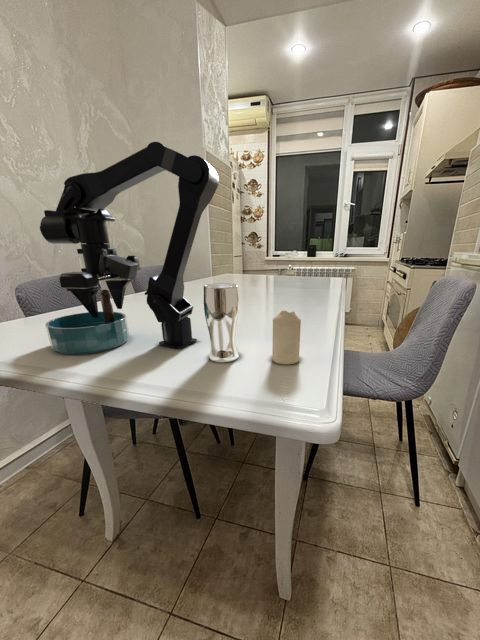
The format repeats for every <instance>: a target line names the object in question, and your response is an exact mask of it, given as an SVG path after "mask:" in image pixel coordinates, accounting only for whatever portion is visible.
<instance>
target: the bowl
mask: <svg viewBox="0 0 480 640" xmlns="http://www.w3.org/2000/svg"><path fill="white" fill-rule="evenodd" d="M113 312H114V318H115V321H114V322H111V323H107V324H105V319H104V314H103V310H101V311H99V310H98V318H93V317H92V316H91V314H90V313H89V312H88V311H87V312H79V313H73V314H67V315H63V316H60V317H55V318H52V319H50V320H48V321H46V323H45V329H46V333H47V336H48V341H49V344H50V347H51V348H50V349H52V350H53V351H55V352H57V353H59V354H63V355H88V354H95V353H101V352H106V351H109V350H112V349H115V348H118V347H121V346H122V345H123V344H125V343H126V342H127V341H128V340H129V339H130V331H129V327H128V320H127V315H126V313H123V312H118V311H113Z"/></svg>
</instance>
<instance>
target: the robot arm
mask: <svg viewBox="0 0 480 640" xmlns="http://www.w3.org/2000/svg"><path fill="white" fill-rule="evenodd" d="M164 171H167V172H169V173H171V174H173V175H175V176H176V177H178V185H177V189H178V201H179V206H178V209H177V212H176V216H175V217H176V218H175V221H174V224H173V227H172V232H171V234H170V235H171V236H170V240H169V243H168V247H167V251H166V254H165V257H164V262H163V266H162V269H161V271H160V273H159V274H158V275H153V276H150V277H149V279H148V281H147V289H146V291H145V292H144V295H145V296H146V305H148V307H149V309H150V310H151V311H152V313H153V314H154V316H155V318H156V321H157V322H158V323H160V325H161V333H162V341H159V342H158V344H159V345H161V346H164V347H170V348H174V349H182V348H184V347H186V346H189V345H191V344H193V343H196V342H197V341H198V339H197V338H195V337H193V332H192V321H191V317H189V316H191V315H192V314H193V310H194V305H193V304H191V303H190V302H189V301H188V300H187V298H185V297H184V295H185V293H184V292H185V283H184V274H185V271H186V268H187V264H188V260H189V257H190V255H191V251H192V247H193V244H194V241H195V238H196V235H197V230H198V228H199V224H200V220H201V218H202V214H203V212H204V211H205V210H206V208H207V207H208V205H209V204H210V203H211V202H212V199H213V198H214V195H215V193H216V191H217V189H218V188H219V182H220V177H219V175H218V172H217V169H216V168H215V167H214V166H213V165H211V163H209V162H208V161H207V160H205V159H204V158H203V157H201V156H199V155H196V154H195V155H194V154H193V155H189V156H187V155H184V154H182V153H180V152H178V151H176V150H174V149H171V148H169V147H167V146H166V145H164V144H163V143H162V142H160V141H152V142H149V143H148V145H147V146H146V147H144V148H141V149H140V150H138V151H136V152H134V153H132V154H131V155H129V156H126V157H125V158H122V159H121V160H119V161H117V162H115V163H113V164H112V165H110V166H107V167H106V168H104V169H102V170H100V171H96V172H84V173H79V174H76V175H72V176H69V177H67V178H66V179H65V181H64V182H63V185H64V187H63V191H62V193H61V196H60V199H59V202H58V204H57V206H56V209H55V210H50V209H45V210H43V213H44V216H43V217H42V218H41V220H40V223H39V231H40V233H41V235H42V237H43V238H44V240H45V241H47V242H48V243H49V244H52V245H53V244H54V245H55V244H56V245H58V244H59V245H60V244H61V245H63V244H64V245H67V244H68V245H71V244H72V245H75V244H76V245H77V244H80V248H76V252H77V255H82V258H83V262H84V263H83V264H84V267H83V268H80V271H70V272H62V273H61V274H60V276H59V277H58V280H59V281H58V282H59V284H60V288H61V289H63V288H64V289H66V291H67V292H70V293H71V294H72V295H73V296H74V297H75V298H76V299H77V300H78V301H79V302H80V304H82V306H83V307H84V308H85V310H86V311H87V312H89V313H90V314H91V316H92V317H93V318H98V312H99V307H98V298H97V295H98V292H100V291H99V290H101V286H98V284H99V282H100V281H105V284H106V286H107V288H108V289H107V290H108V291H109V292H110V296H111V299H112V300H113V301H112V302H113V303H114V305H115V307H116V309H117V310H123V305H124V300H125V295H126V289H127V287H128V286H129V285H130V284H131V283H132V282H133V281H134V279H136V278H137V275H138V271H141V270H142V267H141V263H140V259H139V257H138V256H137V255H134V254H129V255H127V256H126V257H125V256H123V257H122V256H119V255H118V253H117V250H116V248H112V247H111V242H110V238H109V232H108V226H107V223H109V222H112V223H113V222H115V221H116V218H115V217H114V216H112V214H110V213H109V212H108V210H107V209H106V208H107V207H108V206H109V205H111V204H112V203H113V202H114V201H115V199H116V196H118V195H119V194H120V193H122V192H124V191H126V190H128V189H130V188H132V187H134V186H136V185H139V184H140V183H143V182H145V181H146V180H148V179H150V178H152V177H154V176H156V175H158V174H160V173H162V172H164Z"/></svg>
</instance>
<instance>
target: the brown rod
mask: <svg viewBox="0 0 480 640" xmlns="http://www.w3.org/2000/svg"><path fill="white" fill-rule="evenodd" d="M99 299H100V303H101V309H102V311H103V314H104V319H105V324H107V323H111V322H114V321H115V318H114V312H115V311H114V307H113V301H112V296H111V293H110V291H109V289H106V288H105V289H100V291H99Z"/></svg>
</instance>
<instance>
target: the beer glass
mask: <svg viewBox="0 0 480 640" xmlns="http://www.w3.org/2000/svg"><path fill="white" fill-rule="evenodd" d="M239 298H240V297H239V290H238V284H236V283H232V282H231V283H230V282H217V283H215V282H214V283H206V284H203V312H204V318H205V323H206V326H207V330H208V334H209V340H210V348H209V359H210V360H211V361H212V362H216V363H229V362H233V361H236V360H237V359H238V358H239V356H240V355H239V351H238V350H239V349H238V346H237V333H238V326H239V317H240V299H239Z"/></svg>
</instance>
